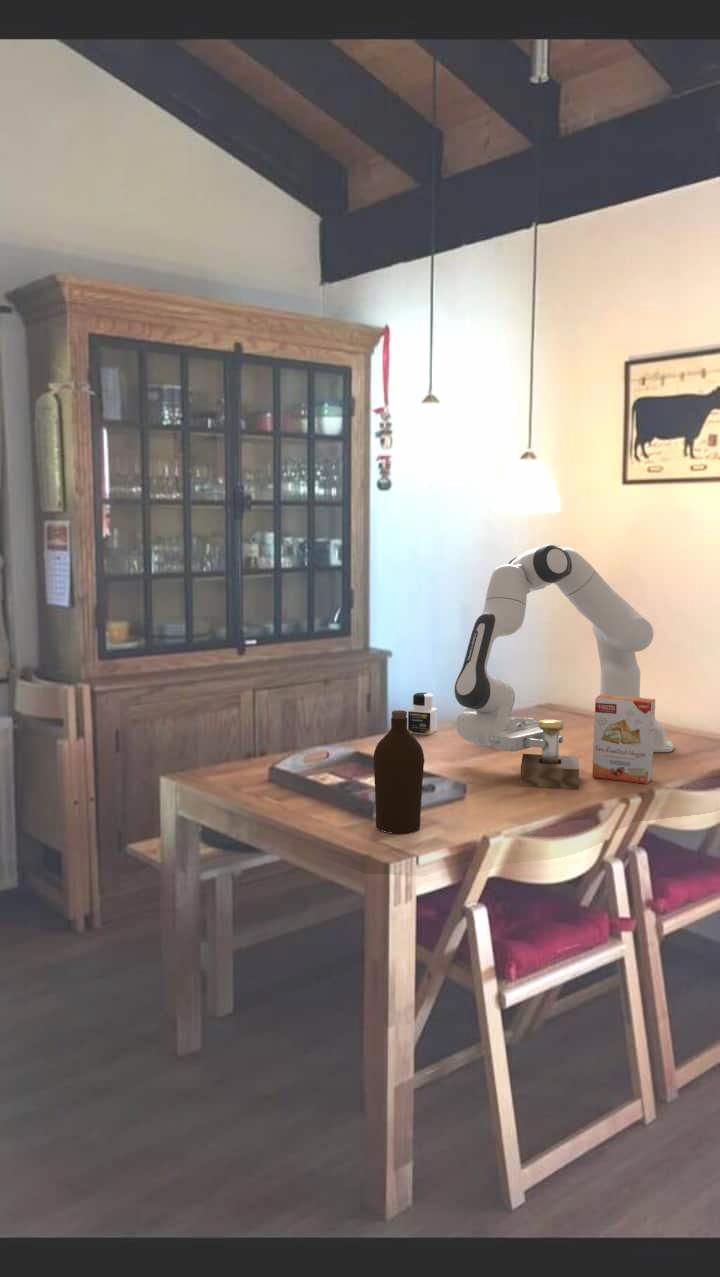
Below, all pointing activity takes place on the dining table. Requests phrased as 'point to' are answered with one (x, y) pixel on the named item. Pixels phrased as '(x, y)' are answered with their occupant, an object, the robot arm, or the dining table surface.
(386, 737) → the olive oil
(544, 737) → the pin
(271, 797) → the dining table surface
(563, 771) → the block
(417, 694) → the medicine bottle
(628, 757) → the cracker box
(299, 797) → the dining table surface
